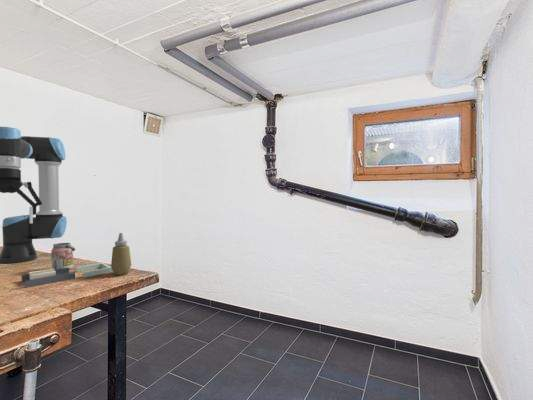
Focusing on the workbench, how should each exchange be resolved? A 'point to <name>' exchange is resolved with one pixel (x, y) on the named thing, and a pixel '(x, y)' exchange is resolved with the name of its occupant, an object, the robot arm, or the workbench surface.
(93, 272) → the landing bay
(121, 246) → the squeeze bottle
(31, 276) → the block
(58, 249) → the beverage can
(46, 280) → the chute
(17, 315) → the workbench surface
